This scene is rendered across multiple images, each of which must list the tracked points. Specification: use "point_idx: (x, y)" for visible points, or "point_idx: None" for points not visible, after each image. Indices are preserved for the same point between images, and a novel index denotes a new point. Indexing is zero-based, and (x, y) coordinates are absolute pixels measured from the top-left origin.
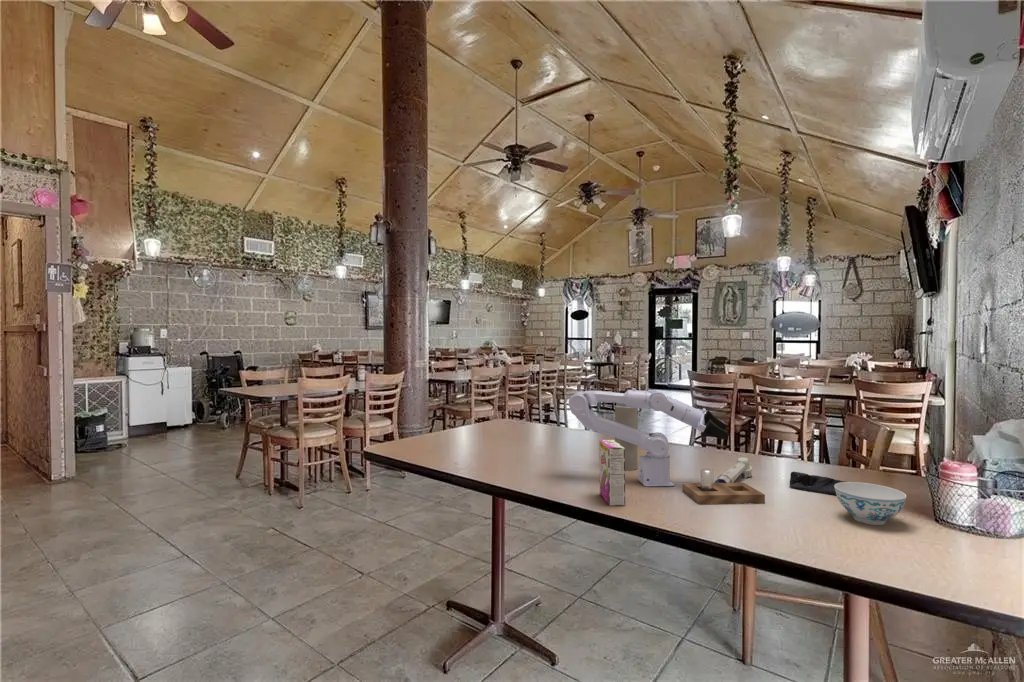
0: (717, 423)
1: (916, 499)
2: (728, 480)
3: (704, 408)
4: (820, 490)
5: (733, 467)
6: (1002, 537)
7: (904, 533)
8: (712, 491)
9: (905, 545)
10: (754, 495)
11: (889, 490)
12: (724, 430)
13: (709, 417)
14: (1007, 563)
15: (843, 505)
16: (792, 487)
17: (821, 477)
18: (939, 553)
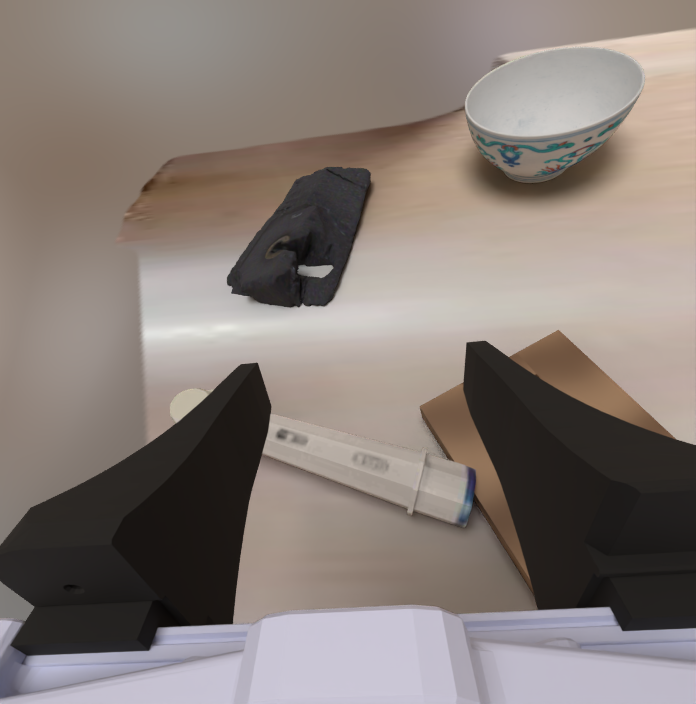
0: (235, 438)
1: (327, 140)
2: (441, 461)
3: (290, 664)
4: (349, 242)
5: (291, 441)
6: (499, 61)
7: None
8: None
9: (685, 109)
10: (588, 360)
11: (485, 84)
12: (484, 360)
13: (182, 525)
14: (652, 38)
15: (577, 160)
16: (332, 296)
17: (308, 223)
18: (687, 79)
